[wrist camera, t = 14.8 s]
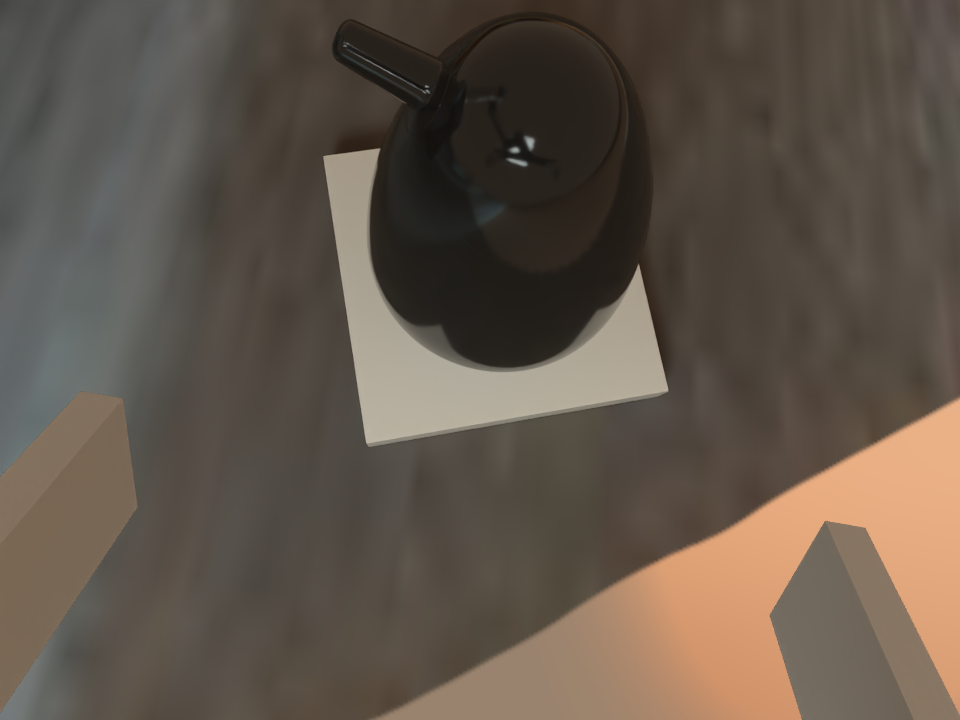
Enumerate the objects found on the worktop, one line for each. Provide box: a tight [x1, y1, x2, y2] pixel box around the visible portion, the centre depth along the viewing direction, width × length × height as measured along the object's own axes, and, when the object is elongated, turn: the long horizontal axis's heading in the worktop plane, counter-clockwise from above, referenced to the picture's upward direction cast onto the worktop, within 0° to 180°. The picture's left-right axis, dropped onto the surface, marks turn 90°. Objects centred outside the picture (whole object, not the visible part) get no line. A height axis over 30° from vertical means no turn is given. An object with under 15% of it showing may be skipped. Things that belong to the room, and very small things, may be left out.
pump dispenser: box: [332, 12, 653, 372], centre depth 24 cm, size 10×10×15 cm
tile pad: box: [323, 148, 668, 447], centre depth 33 cm, size 13×13×2 cm
